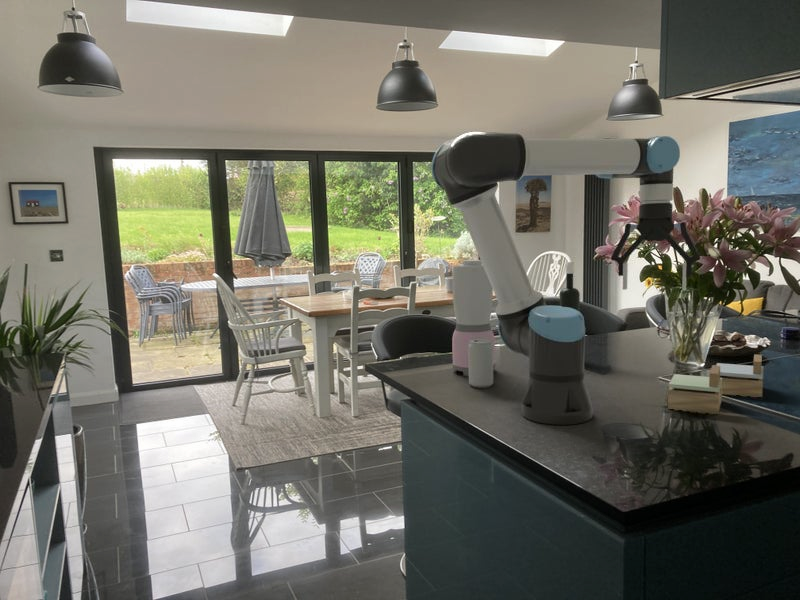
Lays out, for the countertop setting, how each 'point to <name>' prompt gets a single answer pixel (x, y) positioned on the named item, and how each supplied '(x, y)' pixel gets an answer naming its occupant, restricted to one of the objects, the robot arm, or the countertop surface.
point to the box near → (694, 400)
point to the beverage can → (480, 363)
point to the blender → (470, 310)
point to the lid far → (743, 369)
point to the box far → (742, 386)
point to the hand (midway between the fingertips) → (653, 289)
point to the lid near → (698, 381)
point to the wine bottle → (570, 291)
